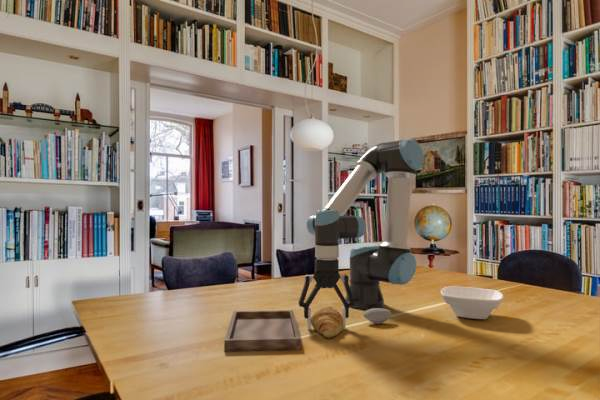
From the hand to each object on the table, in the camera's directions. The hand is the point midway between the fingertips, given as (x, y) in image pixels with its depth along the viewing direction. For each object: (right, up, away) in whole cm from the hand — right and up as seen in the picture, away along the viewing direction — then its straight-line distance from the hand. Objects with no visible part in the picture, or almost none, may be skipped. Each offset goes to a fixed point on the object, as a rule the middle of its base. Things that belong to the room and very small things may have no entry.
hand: (326, 328), depth 125 cm
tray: (-20, 0, -5) cm, 20 cm away
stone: (+18, -1, +7) cm, 19 cm away
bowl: (+53, -1, +16) cm, 55 cm away
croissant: (0, -1, 0) cm, 1 cm away
